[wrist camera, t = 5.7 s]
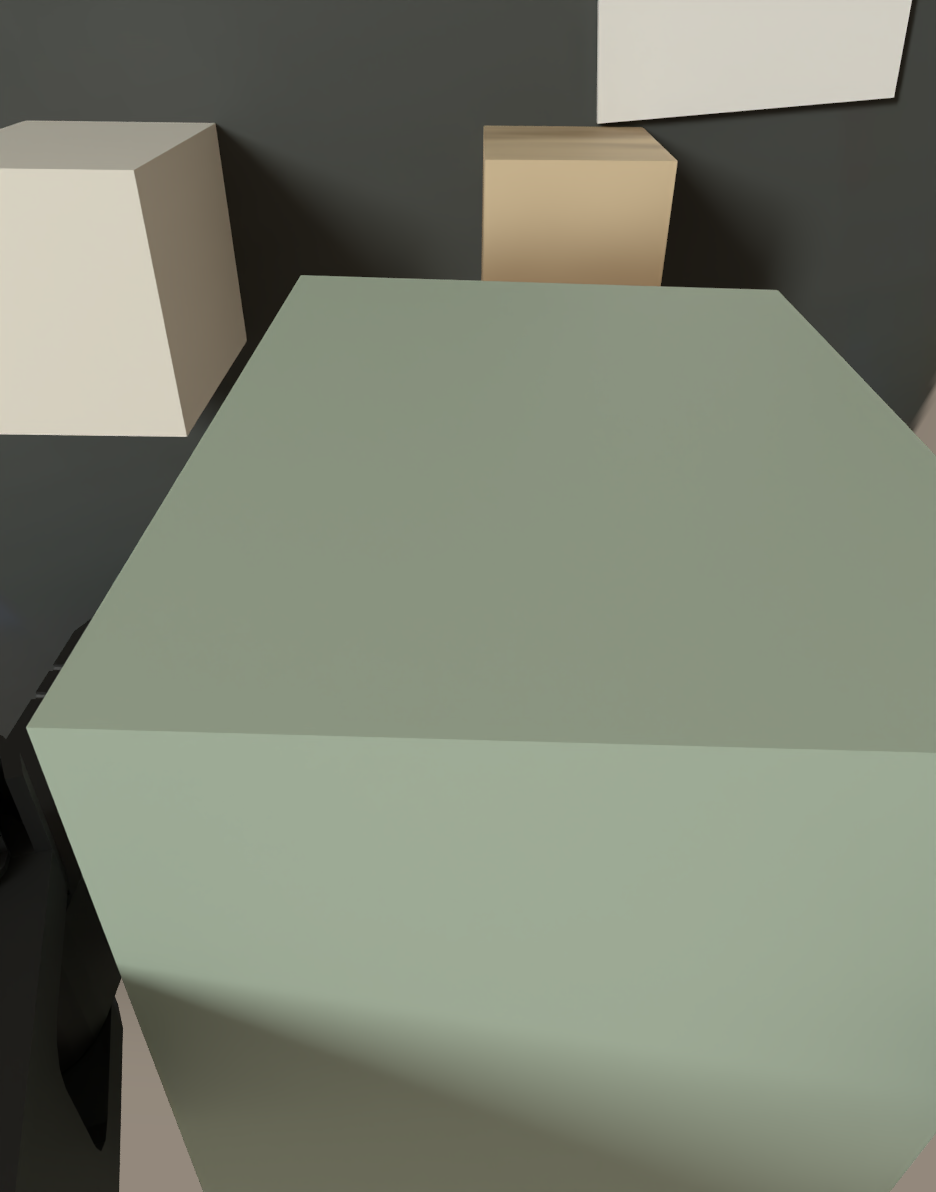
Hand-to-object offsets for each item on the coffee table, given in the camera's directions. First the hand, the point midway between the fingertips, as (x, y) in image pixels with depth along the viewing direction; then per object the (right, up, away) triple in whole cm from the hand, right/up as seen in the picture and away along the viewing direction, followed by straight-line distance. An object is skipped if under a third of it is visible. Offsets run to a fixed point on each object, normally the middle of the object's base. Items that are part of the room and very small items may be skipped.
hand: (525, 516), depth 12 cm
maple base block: (+2, +11, +17) cm, 20 cm away
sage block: (0, 0, 0) cm, 0 cm away
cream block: (-12, +11, +17) cm, 23 cm away
